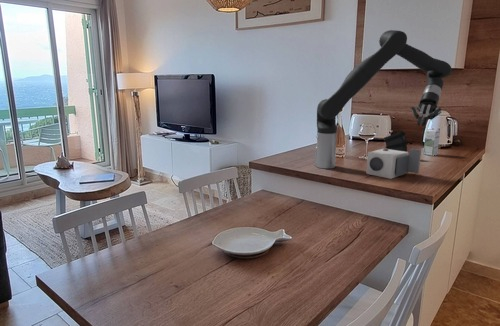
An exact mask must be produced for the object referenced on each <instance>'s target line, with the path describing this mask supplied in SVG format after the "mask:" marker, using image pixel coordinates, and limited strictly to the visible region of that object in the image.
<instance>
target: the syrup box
mask: <svg viewBox="0 0 500 326" xmlns="http://www.w3.org/2000/svg"><path fill="white" fill-rule="evenodd" d="M424 133H425V136H424V145H423V155H426V156H429V155H430V156H431V157H435V156H437V155H438V153H439V145H440V144H439V143H440V136H441V129H433V128H432V129H431V128H430V129H426V130H425V132H424ZM434 155H435V156H434Z"/></svg>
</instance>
